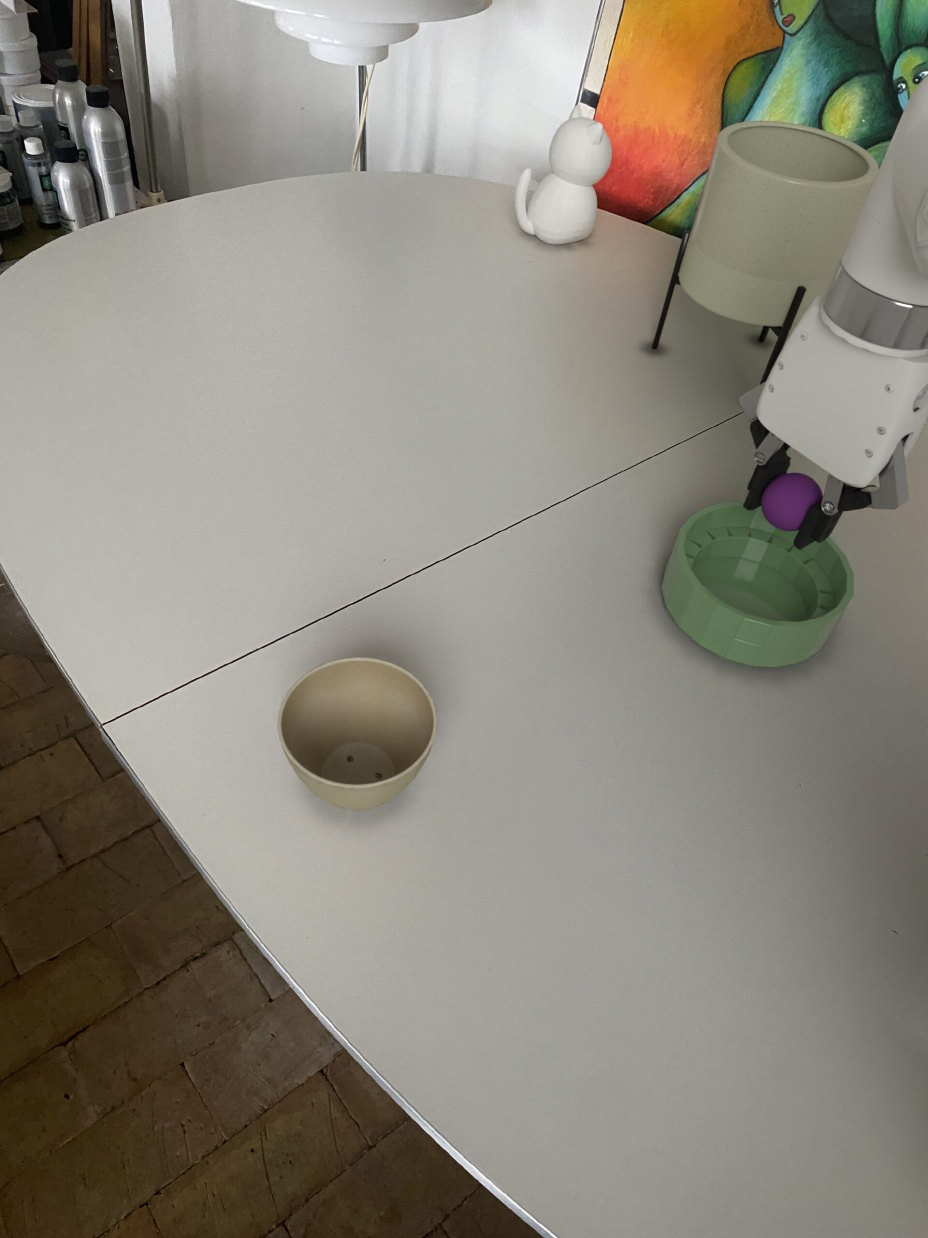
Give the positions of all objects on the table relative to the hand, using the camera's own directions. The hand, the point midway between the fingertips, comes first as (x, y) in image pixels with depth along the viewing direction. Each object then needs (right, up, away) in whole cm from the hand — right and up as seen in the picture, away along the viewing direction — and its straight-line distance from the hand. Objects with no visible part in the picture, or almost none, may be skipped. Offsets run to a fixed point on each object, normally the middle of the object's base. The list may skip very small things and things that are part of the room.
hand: (783, 519), depth 67 cm
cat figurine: (-13, +44, +50) cm, 68 cm away
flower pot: (-32, -19, -7) cm, 38 cm away
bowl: (-1, -7, +7) cm, 10 cm away
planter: (+5, +21, +33) cm, 39 cm away
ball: (0, 0, 0) cm, 0 cm away
